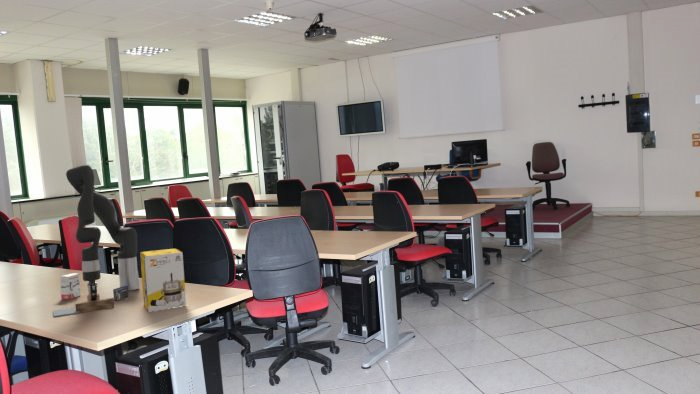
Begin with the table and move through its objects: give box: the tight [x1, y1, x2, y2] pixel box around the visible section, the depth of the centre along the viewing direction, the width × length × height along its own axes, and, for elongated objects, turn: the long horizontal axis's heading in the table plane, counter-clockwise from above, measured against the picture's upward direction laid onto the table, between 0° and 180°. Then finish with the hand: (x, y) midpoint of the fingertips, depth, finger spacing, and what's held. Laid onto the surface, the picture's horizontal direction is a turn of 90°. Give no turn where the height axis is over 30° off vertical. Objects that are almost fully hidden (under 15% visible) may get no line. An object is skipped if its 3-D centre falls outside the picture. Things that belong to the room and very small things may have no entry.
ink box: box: [59, 272, 81, 300], centre depth 285 cm, size 9×5×12 cm, turn 168°
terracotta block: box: [86, 292, 101, 302], centre depth 263 cm, size 5×5×6 cm
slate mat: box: [52, 306, 80, 318], centre depth 254 cm, size 10×12×1 cm
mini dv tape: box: [112, 286, 129, 302], centre depth 275 cm, size 8×2×6 cm, turn 160°
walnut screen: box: [75, 297, 115, 313], centre depth 257 cm, size 16×2×4 cm, turn 120°
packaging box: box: [139, 248, 187, 313], centre depth 257 cm, size 16×16×25 cm
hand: (93, 305), depth 263 cm, fingers open, 5 cm apart
